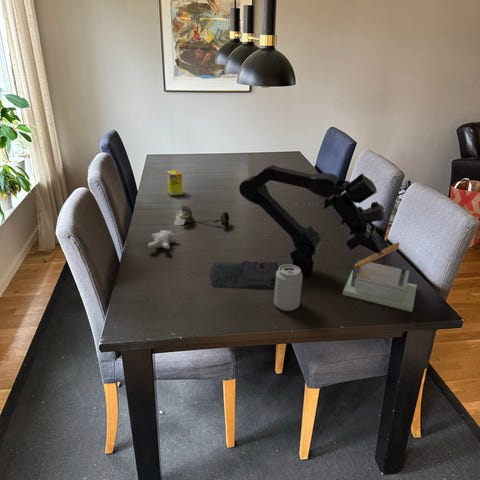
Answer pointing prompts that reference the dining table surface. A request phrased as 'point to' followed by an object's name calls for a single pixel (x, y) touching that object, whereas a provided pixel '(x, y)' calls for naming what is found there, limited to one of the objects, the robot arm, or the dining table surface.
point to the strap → (377, 255)
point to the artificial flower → (187, 215)
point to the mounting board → (404, 305)
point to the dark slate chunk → (244, 275)
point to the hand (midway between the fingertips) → (379, 252)
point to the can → (288, 287)
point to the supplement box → (174, 183)
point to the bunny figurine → (163, 239)
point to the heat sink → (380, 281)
